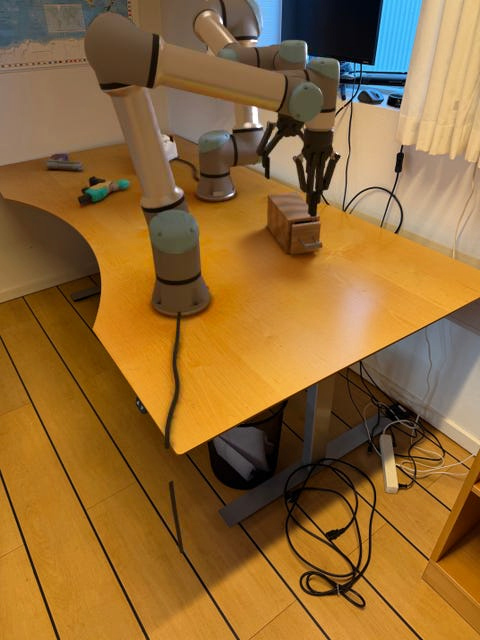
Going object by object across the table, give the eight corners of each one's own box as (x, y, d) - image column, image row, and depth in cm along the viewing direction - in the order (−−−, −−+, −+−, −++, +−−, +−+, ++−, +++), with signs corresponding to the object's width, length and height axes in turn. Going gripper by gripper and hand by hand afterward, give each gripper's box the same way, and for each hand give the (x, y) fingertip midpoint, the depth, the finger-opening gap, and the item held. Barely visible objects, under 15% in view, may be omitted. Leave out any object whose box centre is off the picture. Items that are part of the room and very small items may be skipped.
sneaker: (133, 173, 208) (129, 144, 201) (161, 153, 230) (158, 127, 223) (155, 175, 205) (151, 146, 198) (180, 155, 227) (178, 129, 220)
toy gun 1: (94, 162, 221) (79, 173, 209) (58, 159, 224) (41, 170, 212) (93, 153, 219) (78, 164, 207) (56, 151, 222) (39, 161, 210)
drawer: (326, 260, 141) (329, 231, 136) (298, 264, 139) (300, 235, 134) (296, 225, 161) (298, 199, 156) (272, 228, 159) (272, 202, 154)
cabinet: (316, 249, 149) (319, 216, 142) (286, 253, 147) (288, 220, 140) (294, 222, 165) (296, 192, 158) (267, 226, 163) (267, 195, 156)
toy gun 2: (55, 191, 179) (85, 198, 173) (101, 171, 197) (130, 177, 192) (57, 202, 181) (87, 209, 176) (103, 182, 200) (131, 187, 194)
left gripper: (336, 122, 125) (328, 207, 139) (289, 126, 122) (285, 212, 136) (349, 129, 119) (338, 217, 133) (300, 133, 117) (294, 222, 130)
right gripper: (326, 97, 142) (320, 168, 155) (245, 103, 137) (246, 175, 150) (336, 102, 136) (329, 175, 149) (252, 108, 131) (252, 183, 144)
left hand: (312, 214), depth 135 cm, fingers closed
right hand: (287, 175), depth 149 cm, fingers open, 13 cm apart
